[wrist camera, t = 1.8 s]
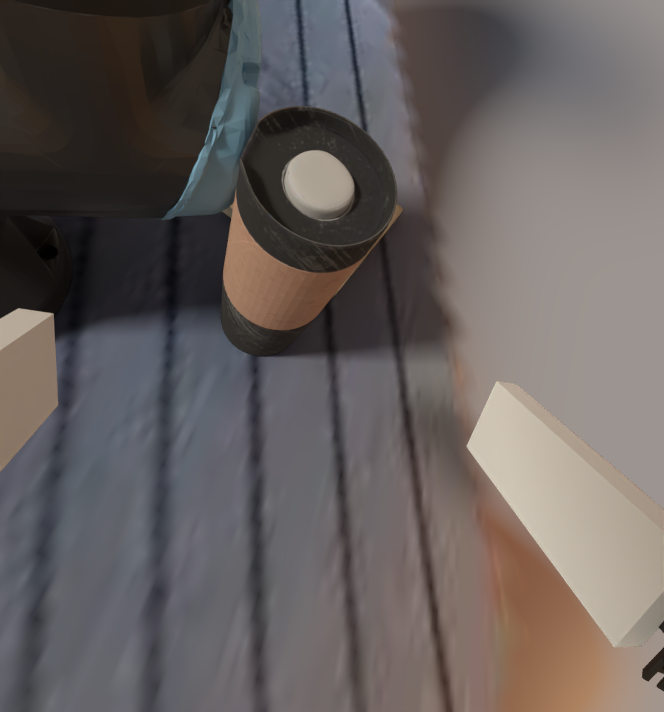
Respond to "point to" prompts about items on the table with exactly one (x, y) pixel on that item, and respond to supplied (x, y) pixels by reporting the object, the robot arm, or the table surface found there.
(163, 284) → the table surface
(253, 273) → the travel mug
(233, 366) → the table surface
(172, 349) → the table surface
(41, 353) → the robot arm
